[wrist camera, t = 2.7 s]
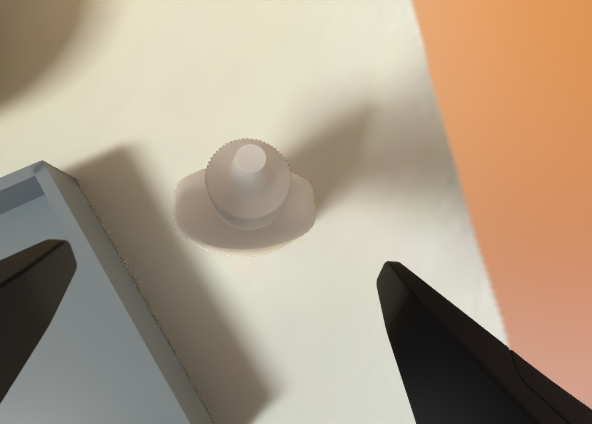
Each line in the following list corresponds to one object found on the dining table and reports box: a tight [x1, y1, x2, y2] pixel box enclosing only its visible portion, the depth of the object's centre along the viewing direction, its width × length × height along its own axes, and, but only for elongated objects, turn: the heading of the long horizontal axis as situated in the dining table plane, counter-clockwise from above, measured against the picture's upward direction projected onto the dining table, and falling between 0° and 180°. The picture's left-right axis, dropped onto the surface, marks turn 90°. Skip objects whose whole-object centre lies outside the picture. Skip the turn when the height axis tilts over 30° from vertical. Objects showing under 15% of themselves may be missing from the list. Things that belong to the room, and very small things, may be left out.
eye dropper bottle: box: [173, 138, 315, 257], centre depth 12 cm, size 4×6×12 cm
